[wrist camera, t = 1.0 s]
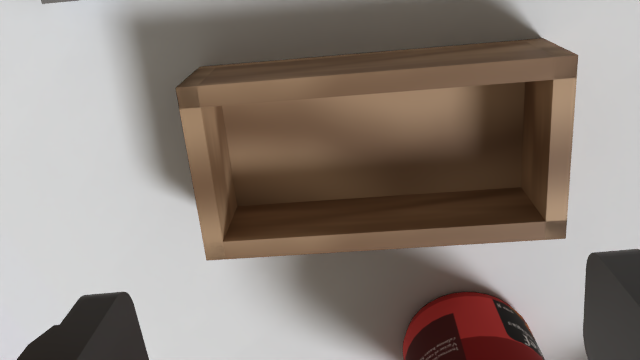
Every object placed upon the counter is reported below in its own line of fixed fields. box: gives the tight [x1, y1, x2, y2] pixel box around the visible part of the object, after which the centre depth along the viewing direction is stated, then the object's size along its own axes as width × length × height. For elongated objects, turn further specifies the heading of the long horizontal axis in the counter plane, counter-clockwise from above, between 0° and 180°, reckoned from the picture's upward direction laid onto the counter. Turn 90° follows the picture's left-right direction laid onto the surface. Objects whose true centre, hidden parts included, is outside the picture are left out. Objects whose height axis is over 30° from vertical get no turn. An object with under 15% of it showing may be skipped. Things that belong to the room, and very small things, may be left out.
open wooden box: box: [176, 38, 578, 260], centre depth 31 cm, size 9×18×5 cm, turn 95°
